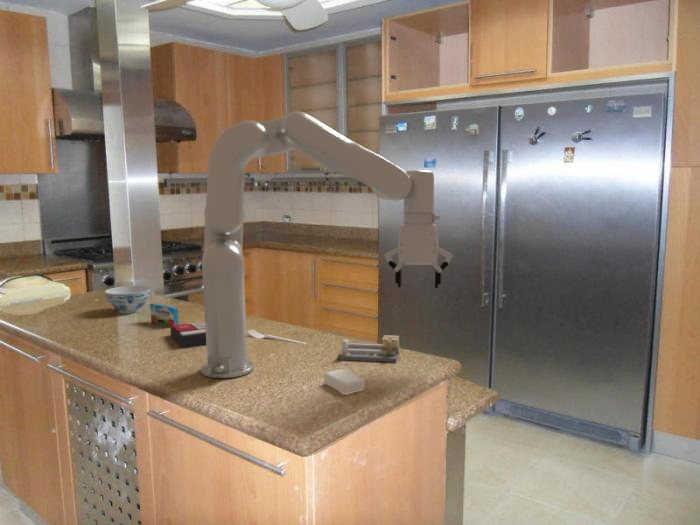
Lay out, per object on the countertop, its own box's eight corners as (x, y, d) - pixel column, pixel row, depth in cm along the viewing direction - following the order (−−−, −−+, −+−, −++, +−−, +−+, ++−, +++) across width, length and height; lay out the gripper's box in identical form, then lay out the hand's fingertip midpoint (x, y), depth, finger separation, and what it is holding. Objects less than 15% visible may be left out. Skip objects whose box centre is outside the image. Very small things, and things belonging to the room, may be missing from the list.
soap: (323, 384, 132) (323, 372, 132) (343, 380, 135) (343, 367, 135) (344, 397, 125) (344, 383, 125) (365, 391, 128) (365, 378, 127)
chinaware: (135, 304, 216) (134, 284, 214) (160, 310, 207) (159, 288, 206) (97, 312, 204) (96, 290, 202) (122, 318, 195) (121, 295, 194)
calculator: (206, 320, 178) (220, 328, 165) (207, 333, 179) (221, 343, 166) (169, 324, 173) (181, 333, 160) (170, 338, 174) (182, 349, 160)
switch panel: (396, 362, 147) (396, 345, 146) (337, 359, 149) (337, 342, 149) (399, 351, 156) (399, 335, 155) (344, 349, 158) (343, 333, 157)
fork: (303, 348, 163) (303, 341, 162) (246, 337, 172) (246, 331, 172) (309, 345, 165) (309, 338, 165) (253, 334, 175) (253, 328, 175)
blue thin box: (178, 326, 184) (177, 307, 183) (174, 327, 183) (173, 308, 182) (155, 321, 191) (153, 302, 190) (151, 322, 190) (150, 303, 189)
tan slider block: (396, 356, 148) (396, 342, 147) (381, 355, 149) (381, 342, 148) (399, 348, 154) (399, 335, 154) (384, 347, 155) (384, 335, 155)
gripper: (453, 218, 149) (452, 284, 151) (385, 218, 152) (385, 283, 154) (453, 220, 142) (452, 290, 144) (382, 220, 144) (382, 288, 147)
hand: (418, 286), depth 149 cm, fingers open, 9 cm apart
